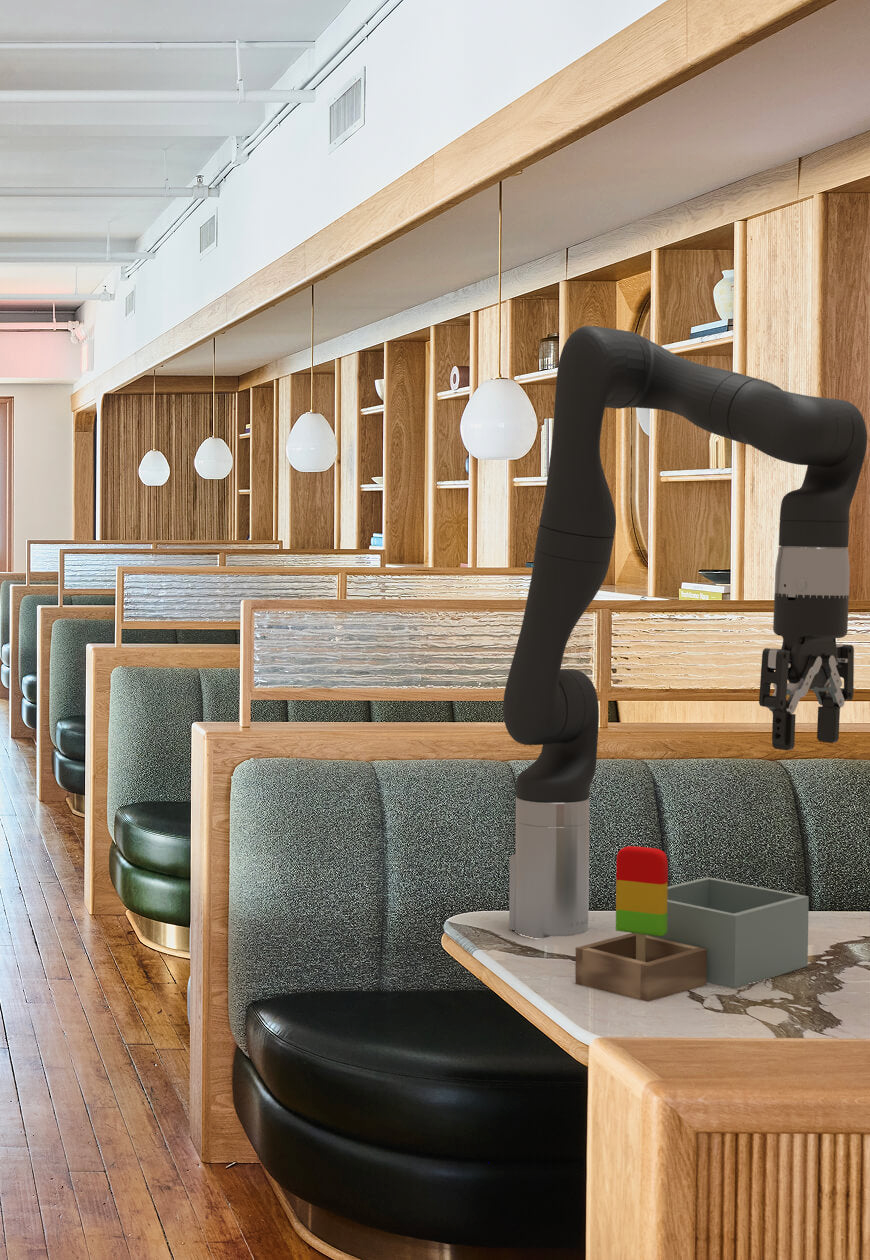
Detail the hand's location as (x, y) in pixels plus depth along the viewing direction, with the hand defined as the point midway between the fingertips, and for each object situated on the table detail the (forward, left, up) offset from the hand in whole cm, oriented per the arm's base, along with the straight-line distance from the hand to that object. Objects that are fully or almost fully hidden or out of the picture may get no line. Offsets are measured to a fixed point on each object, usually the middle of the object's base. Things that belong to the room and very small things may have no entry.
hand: (805, 745), depth 155 cm
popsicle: (-14, -9, -27) cm, 32 cm away
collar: (-14, -9, -27) cm, 32 cm away
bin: (-13, +4, -27) cm, 30 cm away
